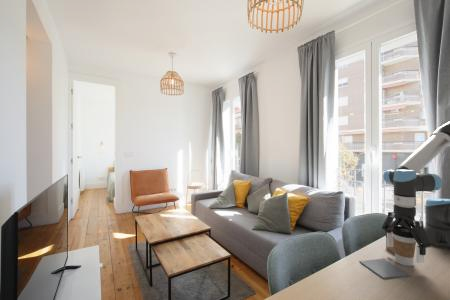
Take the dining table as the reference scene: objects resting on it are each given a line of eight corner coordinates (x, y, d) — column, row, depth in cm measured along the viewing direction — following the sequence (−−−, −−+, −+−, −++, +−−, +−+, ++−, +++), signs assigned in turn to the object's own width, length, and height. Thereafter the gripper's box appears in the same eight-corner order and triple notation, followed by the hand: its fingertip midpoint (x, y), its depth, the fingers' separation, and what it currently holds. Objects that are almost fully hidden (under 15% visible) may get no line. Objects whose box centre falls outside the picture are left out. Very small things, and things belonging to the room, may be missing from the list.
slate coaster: (383, 260, 97) (383, 258, 97) (410, 275, 85) (410, 274, 85) (359, 262, 95) (359, 260, 95) (383, 278, 83) (383, 277, 83)
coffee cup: (421, 268, 90) (422, 232, 90) (398, 266, 92) (398, 231, 91) (409, 258, 98) (409, 225, 98) (387, 256, 100) (388, 224, 100)
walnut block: (394, 247, 108) (394, 237, 108) (404, 252, 104) (404, 242, 103) (386, 248, 108) (386, 238, 108) (395, 253, 103) (395, 243, 103)
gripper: (373, 198, 106) (373, 241, 107) (427, 214, 82) (427, 270, 82) (386, 198, 107) (386, 240, 108) (444, 213, 83) (443, 268, 83)
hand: (404, 253), depth 95 cm, fingers open, 13 cm apart
